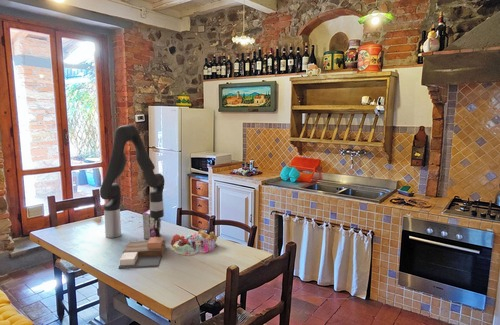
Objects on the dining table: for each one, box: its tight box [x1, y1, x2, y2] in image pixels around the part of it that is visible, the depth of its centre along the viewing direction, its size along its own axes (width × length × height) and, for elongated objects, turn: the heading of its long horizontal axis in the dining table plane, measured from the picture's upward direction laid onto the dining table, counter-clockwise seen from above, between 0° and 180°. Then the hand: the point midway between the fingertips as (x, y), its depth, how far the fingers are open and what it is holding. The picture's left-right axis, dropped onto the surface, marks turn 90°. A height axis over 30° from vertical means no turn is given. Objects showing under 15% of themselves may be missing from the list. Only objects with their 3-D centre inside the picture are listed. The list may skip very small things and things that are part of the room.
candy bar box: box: [142, 209, 156, 240], centre depth 210 cm, size 11×5×16 cm, turn 168°
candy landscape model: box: [170, 229, 218, 256], centre depth 193 cm, size 25×24×9 cm
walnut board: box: [122, 239, 166, 259], centre depth 185 cm, size 15×20×4 cm
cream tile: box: [119, 252, 138, 265], centre depth 172 cm, size 9×7×3 cm
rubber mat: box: [118, 256, 162, 270], centre depth 173 cm, size 11×19×1 cm, turn 97°
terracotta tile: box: [147, 236, 164, 249], centre depth 186 cm, size 9×7×3 cm
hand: (157, 237), depth 195 cm, fingers closed
